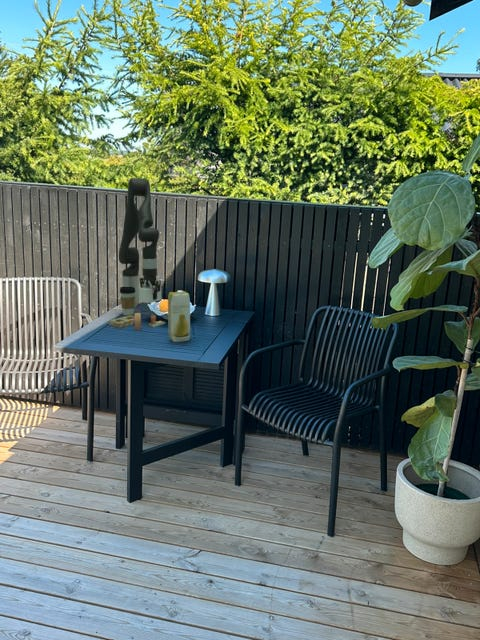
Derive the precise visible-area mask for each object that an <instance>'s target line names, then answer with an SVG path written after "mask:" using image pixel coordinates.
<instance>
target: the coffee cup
mask: <svg viewBox="0 0 480 640" xmlns="http://www.w3.org/2000/svg"><path fill="white" fill-rule="evenodd" d="M119 293H120V302H121V309H122V315H123V316H130V315H131V316H134V315H135V306H134V303H135V288H134V287H123V286H120V288H119Z"/></svg>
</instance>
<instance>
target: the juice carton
mask: <svg viewBox="0 0 480 640" xmlns="http://www.w3.org/2000/svg"><path fill="white" fill-rule="evenodd" d="M190 297H191V296H190V294H189V293H188V292H187V291H184V290H177V291H175V292H172V291H170V292H169V293H168V297H167V316H168V317H167V321H168V322H167V323H168V325H167V326H168V327H167V328H168V336H169V340H171V341H172V342H173V343H180V342H188V341H190V337H191V302H190V301H191V299H190Z"/></svg>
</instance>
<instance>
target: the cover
mask: <svg viewBox="0 0 480 640" xmlns="http://www.w3.org/2000/svg"><path fill="white" fill-rule="evenodd" d="M153 287H154V286H153ZM154 290H155V288H154ZM162 300H163V299H162V286H160V291H159V292H157V299H156V300H153V289H151V287H150V286H149V287H143V288H141V287H139V303H140V302H142V303H145V304H150V303H154V302H158V301H162Z"/></svg>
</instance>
